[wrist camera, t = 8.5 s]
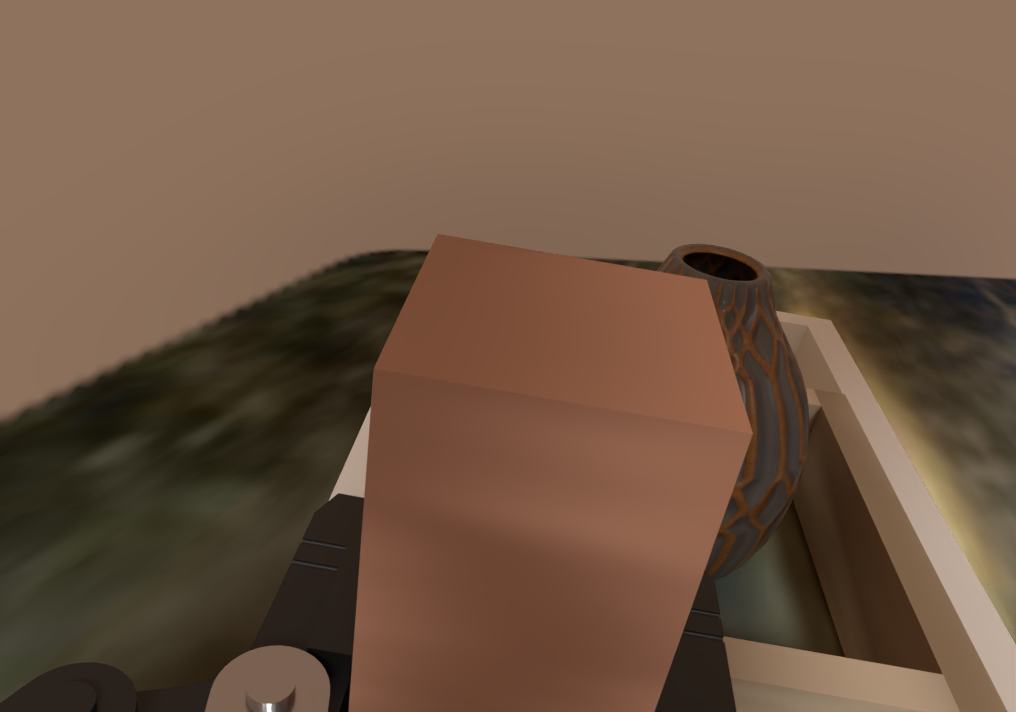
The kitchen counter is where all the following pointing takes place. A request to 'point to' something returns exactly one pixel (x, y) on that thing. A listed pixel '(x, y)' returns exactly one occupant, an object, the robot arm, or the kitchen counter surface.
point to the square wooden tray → (608, 507)
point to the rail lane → (837, 372)
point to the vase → (753, 398)
